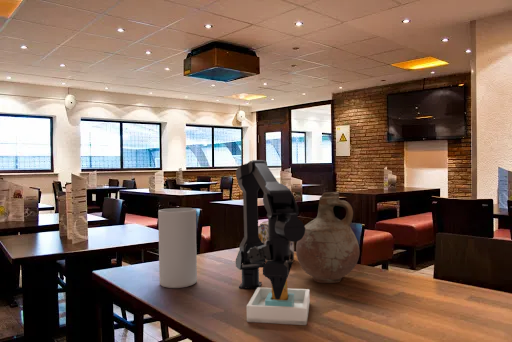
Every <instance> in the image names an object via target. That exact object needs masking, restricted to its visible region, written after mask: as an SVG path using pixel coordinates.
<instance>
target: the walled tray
mask: <svg viewBox="0 0 512 342" xmlns="http://www.w3.org/2000/svg"><path fill="white" fill-rule="evenodd" d="M287 288H288V300H272V287H262V286H260V287H258V288H257V289H255V291H254V293H253V295H252V296H251V298H250V299H249V301H248V303H247V304H246V322H247V323H260V324H261V323H262V324H281V325H297V326H307V324H308V318H309V310H310V303H311V302H310V296H311V295H310V288H307V289H306V288H289V287H287Z"/></svg>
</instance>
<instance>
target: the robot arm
mask: <svg viewBox="0 0 512 342" xmlns="http://www.w3.org/2000/svg"><path fill="white" fill-rule="evenodd" d="M235 171H236V172H235V177H236V179H237V185H238V187H239V188H240V190H241V191H242V196H243V197H242V199H243V200H242V201H243V204H242V205H243V232H244V233H243V237H242V240H241V242H240V244H239V251H238V252H237V255H236V258H235V267H236V268H237V269H238V270H239V271H241V283H240V284H239V285H238V288H239V289H249V290H251V289H253V290H256V289H257V288H258V287H261V285H262V281H260V268H262V275H263V276H264V278H267V279H269V281H270V283H271V284H272V285H271V284H270V285H271V288H272V287H273V291H274V295H275V299H280V297H281V294H282V291H283V288H284V286H285V283H286V280H287V281H288V277H289V275H290V272H291V269H292V266H293V264H294V259H295V252H294V253H293V252H292V251H291V250H290V242H294V243H297V241H299V240H301V239H302V238H303V236H304V234H305V227H304V226H305V224H304V222H303V221H302V220H301V219H299V218H298V216H299V215H300V212H299V205H298V204H297V201H296V199H295V195H294V194H293V193H292V190H291V189H290V188H289V187H288V186H286V185H285V184H283V183H280V182H279V181H278V180H277V179H276V176H274V174H273V173H272V171H271V170H270V167H269V166H268V162H267V161H266V160H265V159H256V160H255V159H254V160H253V159H252V160H250V161H248V162H247V163H244V164H241V165H239V166H238V168H237V169H236V170H235ZM260 189H261V191H262V192H263V198H262V202H263V205H264V208H265V210H266V212H267V214H266V217H267V218H268V219H267V221H268V240H267V241H266V244H264V243H262V242H261V240H260V238H259V232H258V226H259V206H258V205H259V204H258V192H259V190H260ZM289 259H291V260H289ZM265 260H271V261H267V262H266V261H265Z"/></svg>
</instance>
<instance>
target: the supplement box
mask: <svg viewBox="0 0 512 342" xmlns="http://www.w3.org/2000/svg"><path fill="white" fill-rule="evenodd" d="M270 285H271V288H272V300H288V288H289V287H288V279H287V280H286V283H285V286H284V288H283V291H282V294H281V297H280V299H275V295H274V291H273V287H272V284H270Z"/></svg>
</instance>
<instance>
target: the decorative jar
mask: <svg viewBox="0 0 512 342" xmlns="http://www.w3.org/2000/svg"><path fill="white" fill-rule="evenodd" d="M258 232H259V238H260V240H261V242H262V243H264V244H266V241H267V240H268V220H265V221H261V223H259V224H258ZM290 250H291V251H292V252H293V253H294V254H295V242H290ZM266 261H271V260H265V262H266ZM289 261H291V259H289Z"/></svg>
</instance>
